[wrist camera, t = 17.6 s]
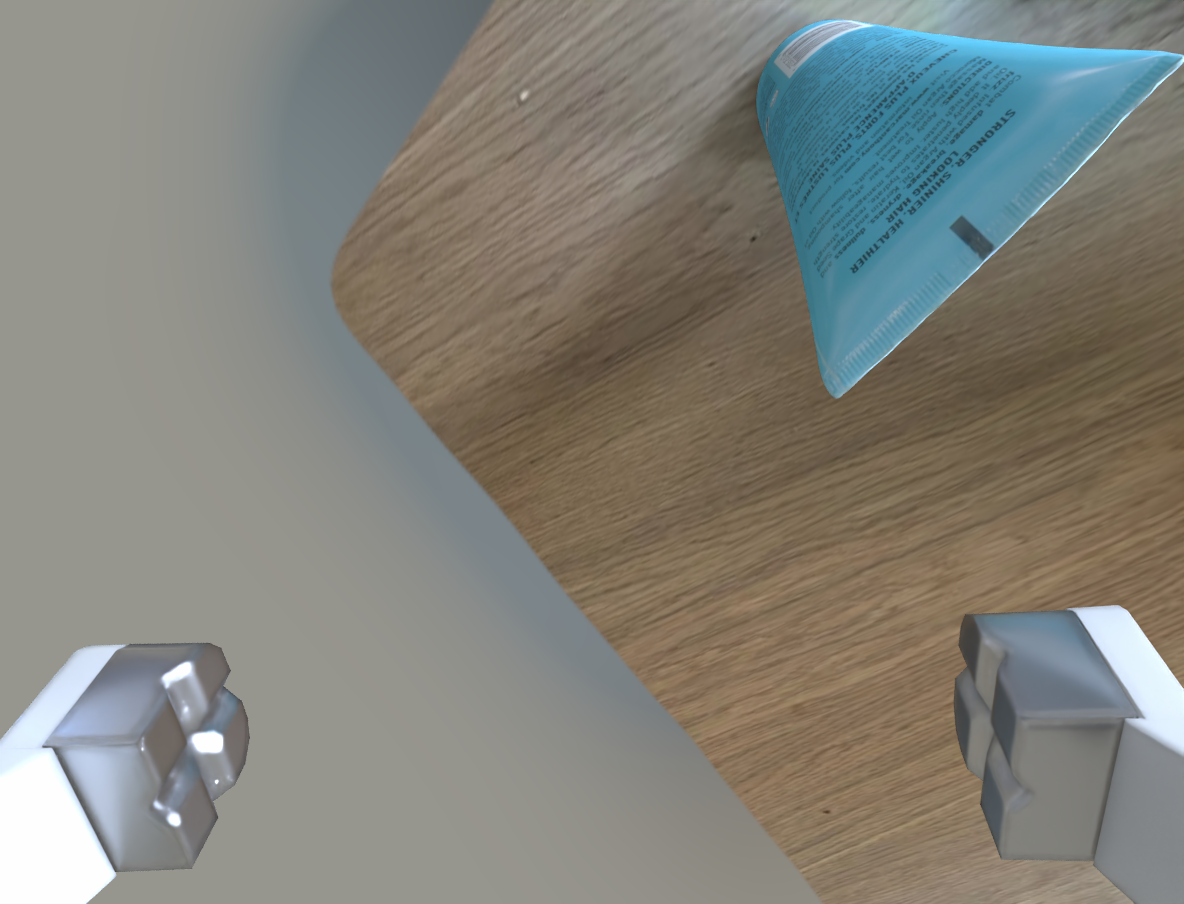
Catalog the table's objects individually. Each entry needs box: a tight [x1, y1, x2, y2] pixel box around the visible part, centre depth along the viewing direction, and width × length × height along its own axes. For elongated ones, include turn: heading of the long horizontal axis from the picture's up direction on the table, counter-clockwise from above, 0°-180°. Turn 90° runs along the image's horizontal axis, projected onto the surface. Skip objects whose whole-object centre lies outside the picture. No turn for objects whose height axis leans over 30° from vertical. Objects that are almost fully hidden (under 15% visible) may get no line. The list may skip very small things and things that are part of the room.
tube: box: [756, 20, 1184, 398], centre depth 24 cm, size 7×5×19 cm, turn 147°
